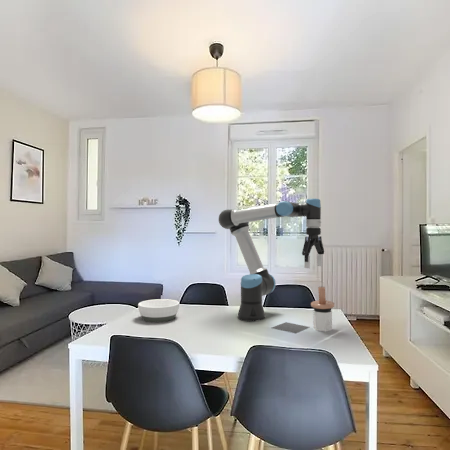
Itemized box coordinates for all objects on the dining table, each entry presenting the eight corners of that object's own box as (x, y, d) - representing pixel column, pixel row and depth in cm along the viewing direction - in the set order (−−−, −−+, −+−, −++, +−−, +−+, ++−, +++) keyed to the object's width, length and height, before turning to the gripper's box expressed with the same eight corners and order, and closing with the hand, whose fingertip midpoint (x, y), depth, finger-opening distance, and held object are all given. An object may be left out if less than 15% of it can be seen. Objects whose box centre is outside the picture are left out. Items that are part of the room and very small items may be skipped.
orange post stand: (307, 307, 174) (306, 288, 174) (317, 301, 183) (316, 283, 182) (328, 310, 167) (327, 291, 167) (338, 304, 176) (337, 285, 175)
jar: (322, 333, 169) (322, 308, 169) (309, 329, 176) (309, 304, 176) (335, 330, 174) (335, 305, 174) (322, 326, 181) (322, 302, 181)
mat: (270, 329, 177) (270, 327, 177) (285, 323, 187) (285, 322, 187) (296, 334, 167) (296, 333, 167) (310, 328, 178) (310, 327, 178)
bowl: (129, 321, 192) (129, 305, 192) (153, 312, 213) (153, 297, 213) (165, 325, 184) (165, 308, 184) (186, 315, 205) (186, 300, 205)
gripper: (308, 227, 181) (308, 269, 181) (330, 227, 200) (330, 265, 200) (295, 227, 186) (295, 268, 186) (318, 227, 205) (318, 264, 205)
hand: (313, 267), depth 193 cm, fingers open, 13 cm apart
